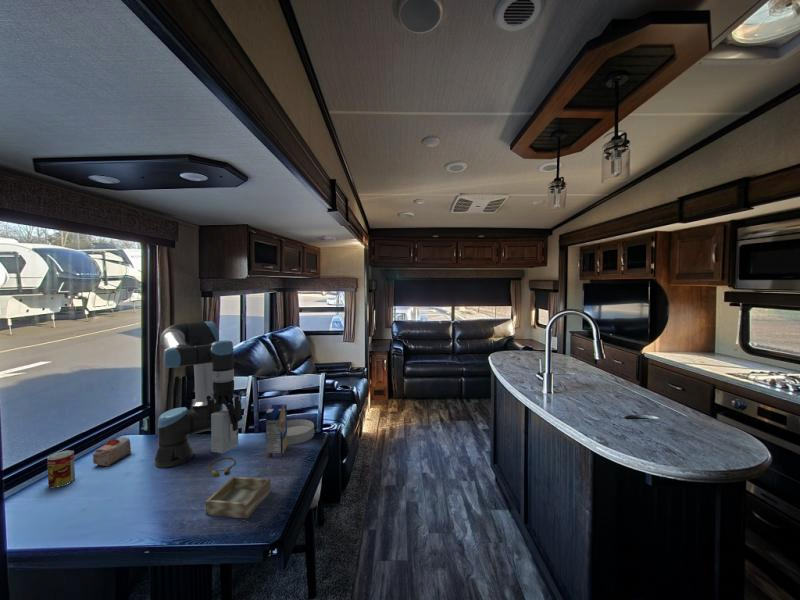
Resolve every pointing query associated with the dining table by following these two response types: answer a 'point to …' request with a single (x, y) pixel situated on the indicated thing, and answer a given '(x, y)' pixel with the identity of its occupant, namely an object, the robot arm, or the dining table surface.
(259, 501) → the birch box
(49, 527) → the dining table surface
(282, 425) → the beverage box
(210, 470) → the extension cord
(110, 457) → the food item
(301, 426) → the dish
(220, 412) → the skincare box
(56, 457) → the canned food
